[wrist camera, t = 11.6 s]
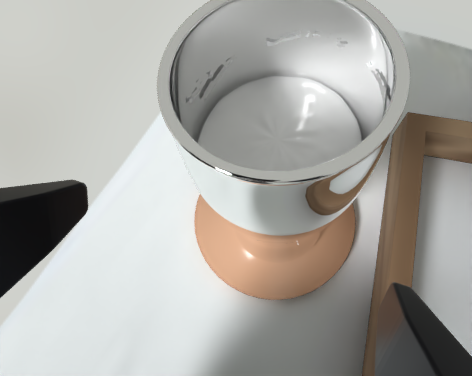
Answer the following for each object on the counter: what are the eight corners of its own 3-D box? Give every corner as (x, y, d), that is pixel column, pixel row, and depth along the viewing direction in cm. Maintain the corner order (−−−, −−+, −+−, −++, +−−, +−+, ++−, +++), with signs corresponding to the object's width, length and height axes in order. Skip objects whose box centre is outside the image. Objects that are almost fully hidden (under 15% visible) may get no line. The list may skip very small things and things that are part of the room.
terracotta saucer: (166, 240, 23) (163, 238, 23) (250, 125, 26) (249, 121, 25) (301, 336, 20) (301, 336, 20) (381, 194, 23) (384, 191, 22)
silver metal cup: (211, 250, 22) (103, 146, 8) (246, 161, 24) (205, -42, 10) (312, 286, 21) (389, 232, 7) (340, 188, 23) (441, -9, 9)
